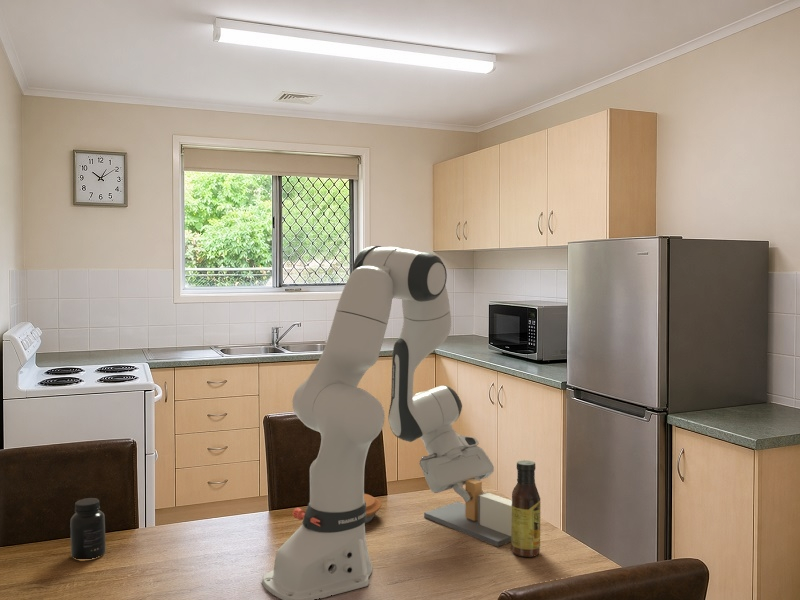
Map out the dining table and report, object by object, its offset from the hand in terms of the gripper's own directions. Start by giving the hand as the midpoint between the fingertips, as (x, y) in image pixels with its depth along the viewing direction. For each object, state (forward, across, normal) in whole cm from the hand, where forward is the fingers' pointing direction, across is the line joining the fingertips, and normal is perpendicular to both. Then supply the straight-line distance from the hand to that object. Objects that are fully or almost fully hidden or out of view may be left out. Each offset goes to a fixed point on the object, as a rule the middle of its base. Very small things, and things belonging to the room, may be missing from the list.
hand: (475, 498), depth 166 cm
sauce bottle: (+18, -4, -8) cm, 20 cm away
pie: (-12, -20, +22) cm, 32 cm away
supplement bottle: (-26, -76, +36) cm, 88 cm away
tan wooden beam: (+3, 0, +4) cm, 5 cm away
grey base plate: (+5, 0, +4) cm, 6 cm away
